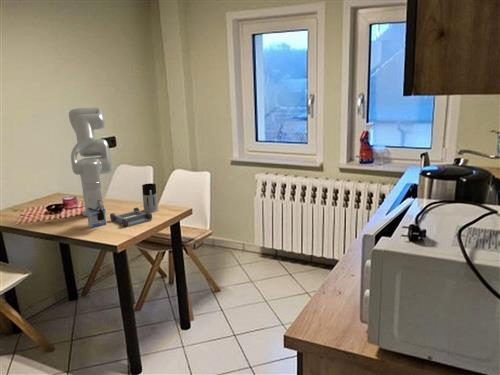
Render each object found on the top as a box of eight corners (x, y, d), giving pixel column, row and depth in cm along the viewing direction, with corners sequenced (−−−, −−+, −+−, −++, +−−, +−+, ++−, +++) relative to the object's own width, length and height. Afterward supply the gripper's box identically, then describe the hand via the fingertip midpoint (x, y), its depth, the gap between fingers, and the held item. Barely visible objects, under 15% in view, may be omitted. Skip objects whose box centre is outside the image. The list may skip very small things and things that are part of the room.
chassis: (110, 220, 224) (109, 213, 223) (136, 213, 235) (135, 206, 234) (126, 227, 213) (125, 219, 212) (152, 220, 223) (151, 212, 222)
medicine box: (91, 228, 213) (89, 211, 211) (88, 225, 216) (86, 209, 214) (106, 224, 218) (104, 208, 216) (103, 222, 221) (101, 206, 219)
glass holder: (157, 207, 246) (155, 182, 242) (160, 214, 233) (158, 188, 229) (142, 209, 243) (140, 184, 240) (144, 216, 230) (142, 189, 227)
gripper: (78, 184, 215) (82, 216, 219) (93, 189, 203) (97, 223, 207) (92, 182, 220) (96, 213, 224) (107, 186, 208) (111, 219, 212)
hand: (96, 218), depth 216 cm, fingers open, 9 cm apart
